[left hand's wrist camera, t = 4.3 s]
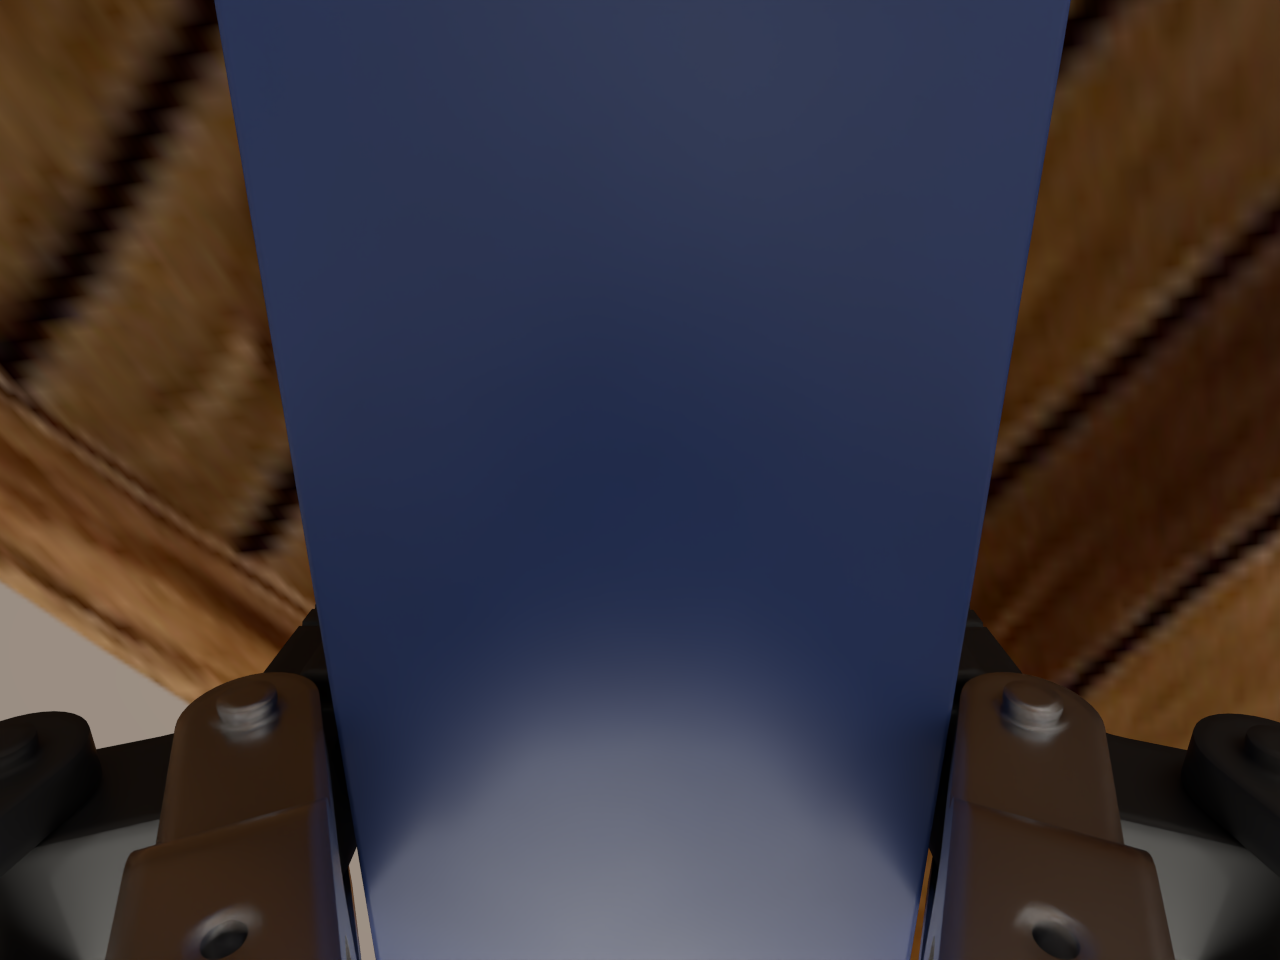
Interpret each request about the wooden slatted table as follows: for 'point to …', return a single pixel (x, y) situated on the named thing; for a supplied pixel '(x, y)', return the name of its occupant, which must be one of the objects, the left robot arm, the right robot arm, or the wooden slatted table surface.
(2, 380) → the wooden slatted table surface
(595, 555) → the bar
